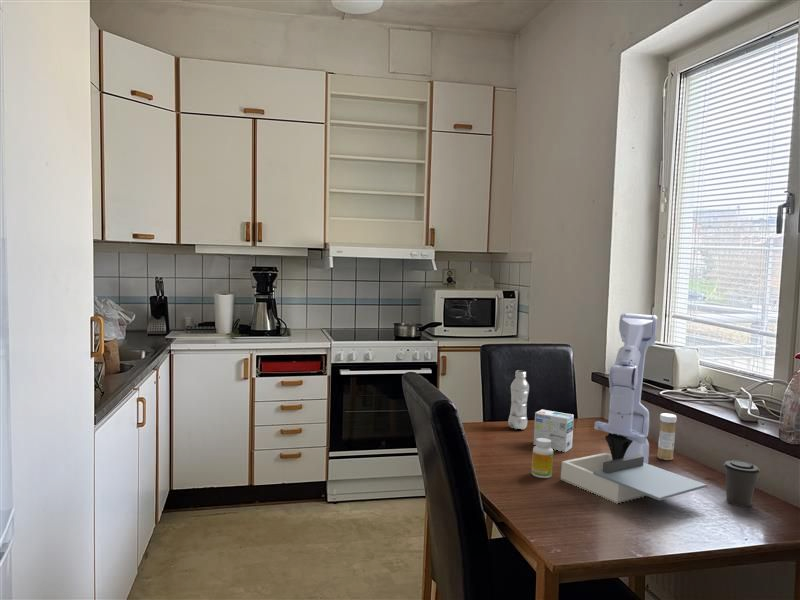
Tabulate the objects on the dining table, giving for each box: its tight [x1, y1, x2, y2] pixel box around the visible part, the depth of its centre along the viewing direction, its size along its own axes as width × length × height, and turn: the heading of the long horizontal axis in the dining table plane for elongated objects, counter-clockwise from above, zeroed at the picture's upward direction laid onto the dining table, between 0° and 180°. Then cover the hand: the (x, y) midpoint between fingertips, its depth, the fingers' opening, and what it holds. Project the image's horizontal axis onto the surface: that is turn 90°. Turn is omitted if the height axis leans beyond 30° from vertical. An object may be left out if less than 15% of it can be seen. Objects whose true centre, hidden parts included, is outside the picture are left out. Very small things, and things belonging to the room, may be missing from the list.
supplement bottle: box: [531, 438, 554, 479], centre depth 167 cm, size 5×5×10 cm
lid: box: [593, 455, 708, 501], centre depth 151 cm, size 19×19×3 cm
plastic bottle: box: [508, 370, 530, 430], centre depth 211 cm, size 6×7×20 cm
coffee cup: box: [723, 459, 761, 507], centre depth 154 cm, size 8×8×10 cm
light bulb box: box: [532, 408, 575, 453], centre depth 193 cm, size 11×7×11 cm, turn 58°
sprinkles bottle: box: [657, 412, 678, 461], centre depth 186 cm, size 5×5×14 cm
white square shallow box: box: [560, 452, 648, 505], centre depth 161 cm, size 18×18×5 cm
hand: (617, 463), depth 159 cm, fingers closed
